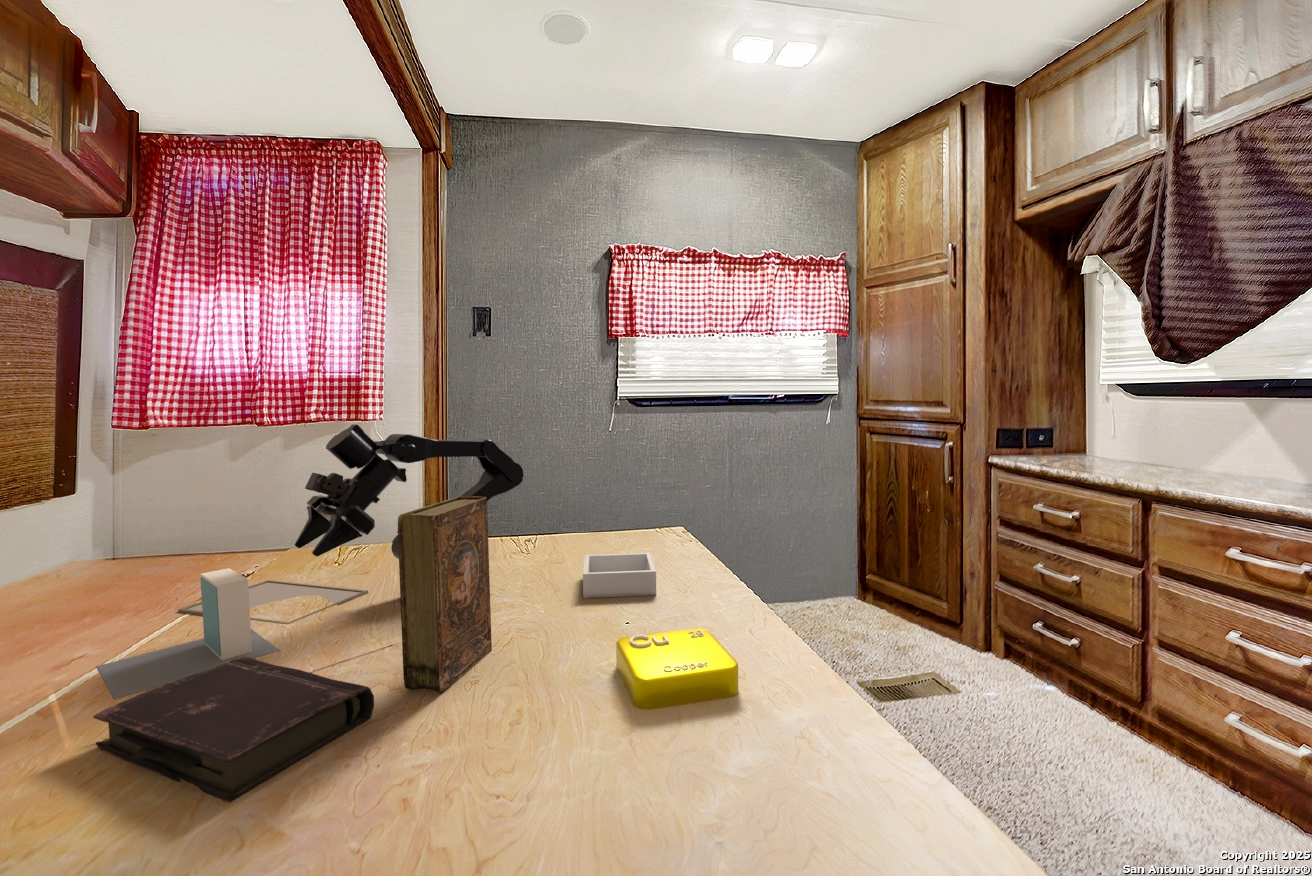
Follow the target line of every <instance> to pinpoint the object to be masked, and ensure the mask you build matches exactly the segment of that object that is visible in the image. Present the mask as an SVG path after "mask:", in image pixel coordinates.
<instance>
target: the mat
mask: <svg viewBox="0 0 1312 876" xmlns="http://www.w3.org/2000/svg"><path fill="white" fill-rule="evenodd" d="M251 642H252V652H249V653H246V654H242V655H239V656H235V657H232V658H229V659H225V660H221V659H220V658H219V657H218V656H217V655H216V654H215V653H214V652H213V651H212V650H211V649H210V648H209V647H208V646H207V645H205V642H204V638H201V639H197V640H192V641H188V642H185V643H182V644H177V645H174V646H169V647H166V648H161V649H157V650H154V651H151V652H147V653H142V654H138V655H135V656H130V657H127V658H124V659H123V658H122V659H118V660H115V661H111V662H109V663H108V662H107V663H104V664H100V665H97V666H96V669H97V670H98V672H99V674H100V676H101V678H102V679H103V681H104V683H105V685H106V687H107V690H108V691H109V693H110V694H111V696H112V698H113V700H116V699H120V698H123V697H127V696H131V695H134V694H138V693H141V692H144V691H145V692H146V691H147V690H148V691H149V690H152V689H155V688H157V687H160V686H162V685H165V684H168V683H170V682H173V681H175V680H178V679H181V678H184V677H187V676H190V675H193V674H196V673H199V672H202V671H205V670H208V669H211V668H213V667H216V666H218V665H221V664H224V663H226V662H228V663H229V662H230V661H231V660H234V659H236V658H239V657H242V656H246V657H250V658H253V659H256V658H260V657H263V656H267V655H270V654H273V653H276V652H280V651H281V650H280V649H279V648H277V647H276V646H275V645H273V644H272V643H271V642H269V641H268V640H267V639H265V638H264V637H262V636H261V635H260V634H259V633H257V632H256V631H254V629H252V628H251Z"/></svg>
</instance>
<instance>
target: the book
mask: <svg viewBox="0 0 1312 876" xmlns="http://www.w3.org/2000/svg"><path fill="white" fill-rule="evenodd" d="M488 520H489V519H488V502H487V497H480V496H464V497H460V496H456V497H452V498H448V499H445V500H442V501H440V502H435V503H432V504H430V505H426V506H423V507H419V508H416V509H413V510H410V511H407V512H403V513H400V514H399V515H398V517H397V531H398V533H397V535H398V548H399V559H398V569H399V590H400V591H399V596H400V599H399V600H400V621H401V622H400V623H401V626H400V627H401V644H402V646H401V647H402V648H401V649H402V673H403V684H404V688H405V689H407V690H412V689H417V688H419V689H420V688H429V689H434V690H436V691H438V692H439V693H444V692H446V691H447V690H448V689H449V688H450V687H451V686H452V685H454V684H455V683H456V682H457V681H459V680H460V679H461V678H462V677H463V676H464V675H466V674H467V673H468V672H469V671H471V669H472V668H473V667H474V666H476V665H477V664H478V663H479V662H480V661H481V660H482V659H483V658H485V657H486V656H487V655H488V654H489V653H490V652H492V651H493V649H492V646H493V645H492V619H491V618H492V617H491V616H492V613H491V611H492V610H491V585H490V581H491V580H490V557H489V556H490V554H489V553H490V550H489V523H488Z"/></svg>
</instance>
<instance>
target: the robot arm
mask: <svg viewBox="0 0 1312 876" xmlns="http://www.w3.org/2000/svg"><path fill="white" fill-rule="evenodd" d="M325 449H326V450H327V451H328V452H329V453H331V454H332V456H334V457H335V458H336V459H337V460H338V461H340V462H341V463H342V464H343V465H345V467H347V469H349V470H352V469H354V468H356V469H357V470H358V469H360V470H359V471H358V472H357V473H356V474H355V475H354V476H353V477H351V478H350V477H348V478H344V475H341V474H339V473H336V472H331V473H330V474H328V475H327V476H326V475H324V474H320V473H318V472H312V473H311V475H310V477H309V479H308V480H307V483H306V485H305V487H304V489H305V490H307V491H308V490H309V491H310V492H311V491H313V492H316V493H319V495H313V496H312V497H311V498H310V499H309V500H308V501H307V502H306V505H307V506H306V510H307V514H308V519H307V521H306V523H305V525H304V526H303V528H302V530H301V532H300V534H299V536H298V537H297V539H296V542H294V546H295V547H296V548H297V549H301V548H303V547H305V546H306V545H308V544H310V543H312V542H313V541H315V540H317V539H318V538H320V537H321V536H322V538H321V539H319V541H318V543H316V546H315V547H314V548H313V550H312V552H311V553H312V555H313V556H315V557H319V556H321V555H323V554H326V553H327V552H329V551H331V550H334V549H336V548H338V547H340V546H342V545H344V544H346V543H349V542H351V541H354V540H355V539H358V538H362V537H363V535H366V536H368V535H369V534H370V533H371V532H372V531H373V530H374V528H375V523H376V521H375V519H374V518H373V517H372V516H370V515H369V514H368V513H367V511H366V510H367V509H368V507H370V506H371V504H377V503H379V501H380V500H381V499H380V498H379V496H380V494H381V493H382V492H383V491H384V490H385V489H386V488H387V487H388V486H389V485H390V484H391V483H392V482H393V481H394V480H395V481H397V482H402V483H407V480H408V479H407V474H406V472H407V468H404V467H398V466H397V465H396V464H395V463H394V462H396V463H402V464H403V463H405V464H413V463H417V462H418V463H419V462H423V461H426V460H430V459H433V458H454V457H457V458H459V457H460V458H461V457H465V458H466V457H467V458H468V457H471V458H472V457H473V458H476V459H477V461H478V463H479V465H480V467H481V468H482V470H484V471H483V473H482V474H481V476H480V478H479V480H478V482H477V483H476V484H474V485H473V486H472V487H471V488H469V489H468V490H467V491H465V492H464V493H463V494H461V495H460V496H459V497H464V496H480V497H487V503H488V502H489V501H490V500H491V499H493V498H494V497H496V496H499V495H502V494H504V493H507V492H510V491H511V490H513V489H515V488H517V487H519V486H520V485H521V484H522V482H523V481H524V469H523V467H522V466H521V465H520V464H519V463H517V462H515V461H514V459H512V457H511V456H509V455H508V454H507V453H506V452H504V451H503V450H502V449H500V448H499V446H498V445H497V444H496V443H495V442H494V441H493V440H491V439H485V438H484V439H483V438H477V439H433V438H429V437H425V436H424V437H423V436H419V435H415V434H407V433H405V434H404V433H392V434H389V435H388V437H386V438H385V439H384V440H378V441H375V440H373V439H372V438H371V437H370V436H369V435H368V434H367V433H365V431H364V429H363V428H362V427H360V425H359V424H351V425H350V426H349V427H348V428H346V429H343V430H342V431H341V432H339V433H338V434H335V435H334V436H333V437H332V438H331V439H330V440H329V441H328V442H327V444H326V446H325ZM380 455H384V456H385V458H386V459H383V457H381V456H380ZM320 494H323V495H320ZM325 495H327V496H325ZM396 533H397V535H395V537H394V538H393V539H392V541H391V553H392V554H393V556H394V557H395V558H396V559H397V560H399V548H398V530H397V531H396Z"/></svg>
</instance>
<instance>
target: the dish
mask: <svg viewBox="0 0 1312 876" xmlns="http://www.w3.org/2000/svg"><path fill="white" fill-rule="evenodd" d="M583 563H584V564H583V570H582V598H583V599H595V598H619V597H643V596H645V597H646V596H647V597H648V596H657V570H656V566H655V564H654V560H653V557H652V553H651V552H637V553H635V552H634V553H633V552H632V553H611V554H609V553H608V554H605V553H603V554H585V555H584V561H583Z"/></svg>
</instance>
